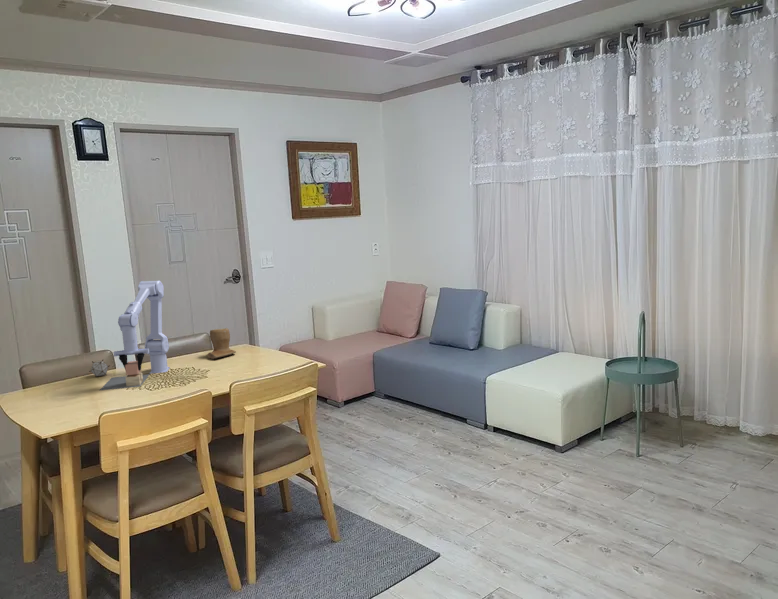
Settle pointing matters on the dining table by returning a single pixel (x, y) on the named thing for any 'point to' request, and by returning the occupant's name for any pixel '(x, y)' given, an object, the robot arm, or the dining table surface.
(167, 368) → the robot arm
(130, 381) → the maple block
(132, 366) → the terracotta block
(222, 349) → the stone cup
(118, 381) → the mat
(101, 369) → the game die
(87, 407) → the dining table surface
